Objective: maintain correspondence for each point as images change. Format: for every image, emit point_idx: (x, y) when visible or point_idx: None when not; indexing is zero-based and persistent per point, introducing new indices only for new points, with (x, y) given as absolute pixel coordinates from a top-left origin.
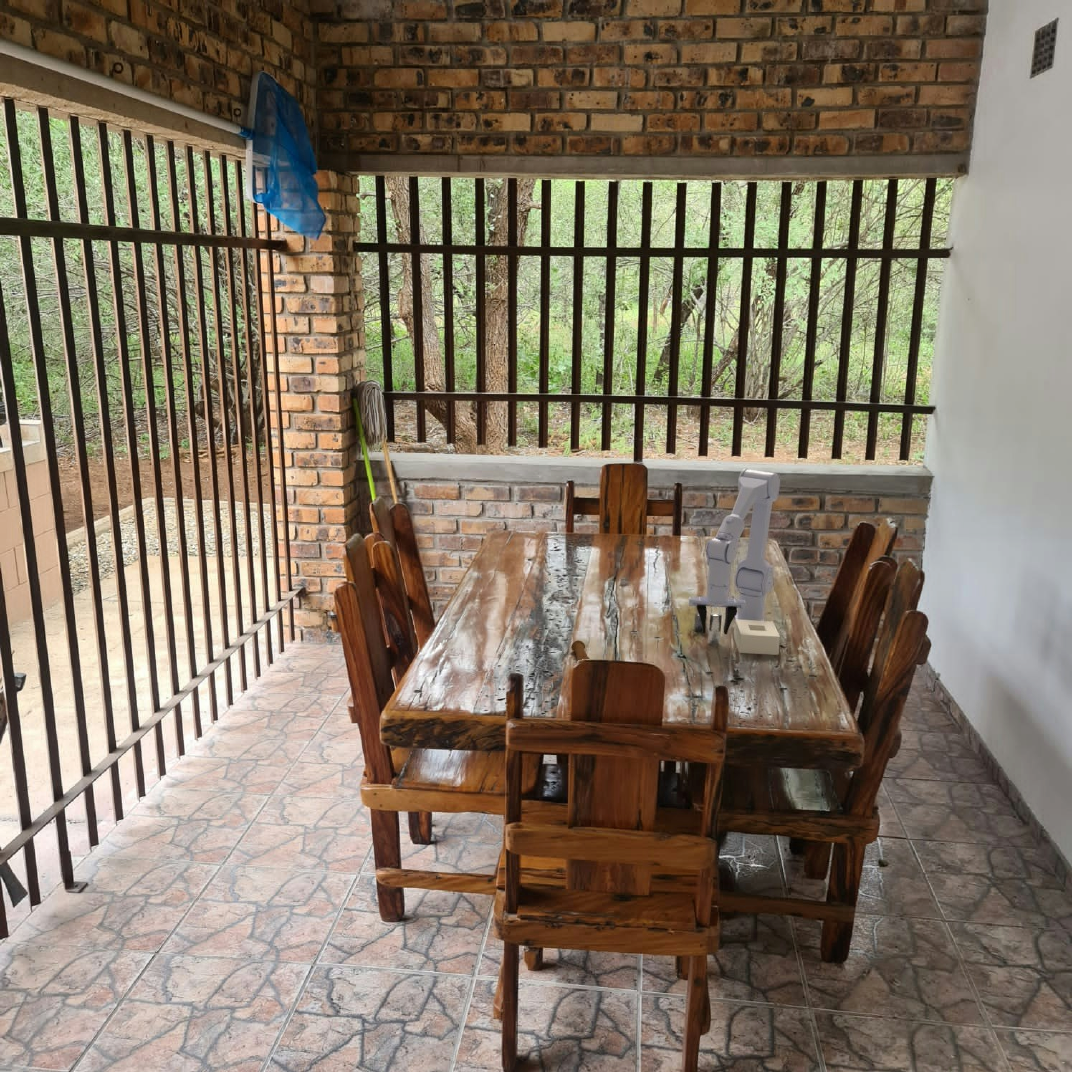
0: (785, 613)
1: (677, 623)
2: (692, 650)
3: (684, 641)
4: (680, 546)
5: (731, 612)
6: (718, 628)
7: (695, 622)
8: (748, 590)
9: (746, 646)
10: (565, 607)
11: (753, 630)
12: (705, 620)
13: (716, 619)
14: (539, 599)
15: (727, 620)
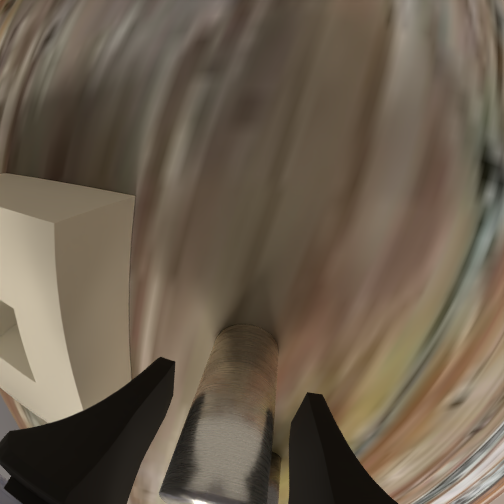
0: None
1: None
2: (415, 259)
3: (387, 378)
4: None
5: (33, 471)
6: (211, 401)
7: (278, 485)
8: None
9: (78, 195)
10: (478, 486)
11: (1, 297)
12: (330, 469)
13: (221, 470)
14: (481, 494)
15: (115, 430)
